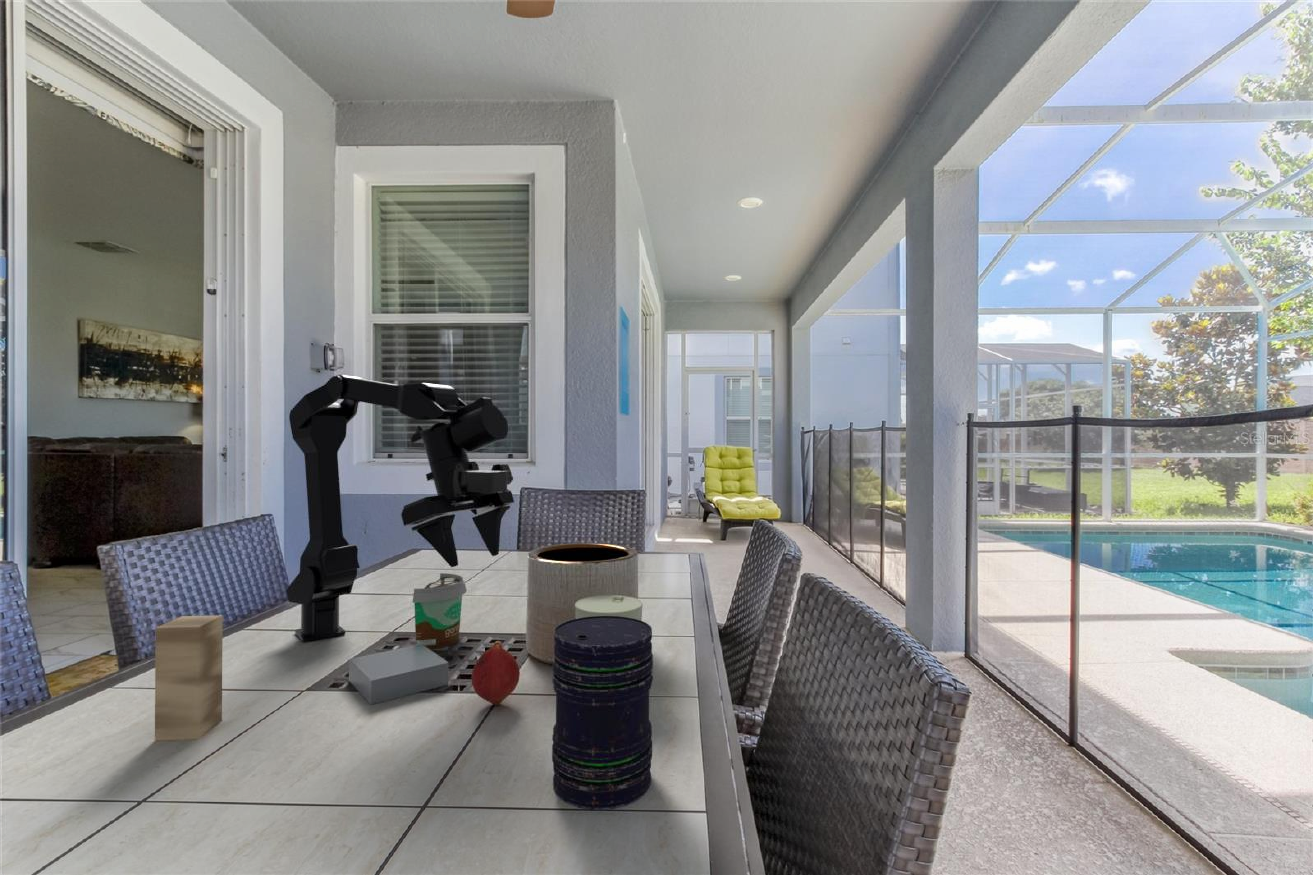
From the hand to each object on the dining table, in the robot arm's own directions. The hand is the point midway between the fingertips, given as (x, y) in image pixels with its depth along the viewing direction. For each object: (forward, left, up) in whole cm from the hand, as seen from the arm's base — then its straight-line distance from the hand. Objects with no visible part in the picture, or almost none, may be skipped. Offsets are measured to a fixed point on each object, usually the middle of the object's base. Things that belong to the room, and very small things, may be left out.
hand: (476, 560), depth 94 cm
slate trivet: (0, -11, -15) cm, 19 cm away
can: (+20, +10, -16) cm, 27 cm away
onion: (+15, -4, -16) cm, 22 cm away
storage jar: (+38, -4, -16) cm, 42 cm away
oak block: (-1, -34, -15) cm, 38 cm away
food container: (-13, +1, -16) cm, 20 cm away
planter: (+5, +16, -16) cm, 23 cm away
